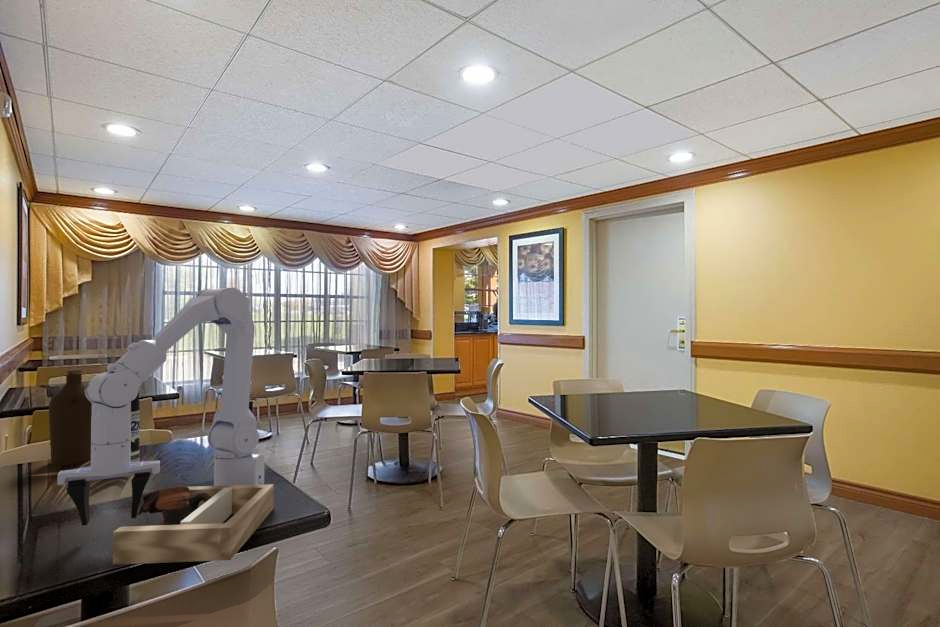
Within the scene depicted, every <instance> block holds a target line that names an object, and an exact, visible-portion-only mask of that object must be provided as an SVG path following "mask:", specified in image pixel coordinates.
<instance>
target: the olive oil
mask: <svg viewBox="0 0 940 627" xmlns="http://www.w3.org/2000/svg"><path fill="white" fill-rule="evenodd" d="M82 375H83V374H82V369H80V368H69V369H66V375H65V377H66V378H65V380H66V381H65V382H66V383H65V384H64V385H63V387H62V388H60V389H59V390H57V392H56V393H55V394H54V395H52V397H51V399H50V401H49V404H48V419H49V421H48V422H49V423H48V424H49V437H50V438H49V439H50V441H49V445H50V464H51V465H52V464H54V465H53V466H66V465H67V466H69V465H73V464H75V465H77V464H80V463H84V462H87V461H91V416H92V403H91V402H90V401H89V400H88V399H87V397H86V395H85V389H87V387H88V386H86V385H85V384H83V382H82V380H83V379H82V378H83V376H82Z"/></svg>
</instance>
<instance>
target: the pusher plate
mask: <svg viewBox="0 0 940 627" xmlns="http://www.w3.org/2000/svg"><path fill="white" fill-rule="evenodd" d="M231 515H232V488H223V489H222V490H221V491H219V492H218V493H217V494H216V495H214V496H213V497H212V498H210V499H209V500H208V501H207V502H205V503H204V504H203V505H201V506H200V507H199V508H198V509H196V510H195V511H194V512H192V513H191V514H190V515H189V516H187V517H186V518H185V519H183V520H182V521H181V522H180V525H186V524H216V523H225V521H226V520H227V519H228V518H229V517H230V516H231Z"/></svg>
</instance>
